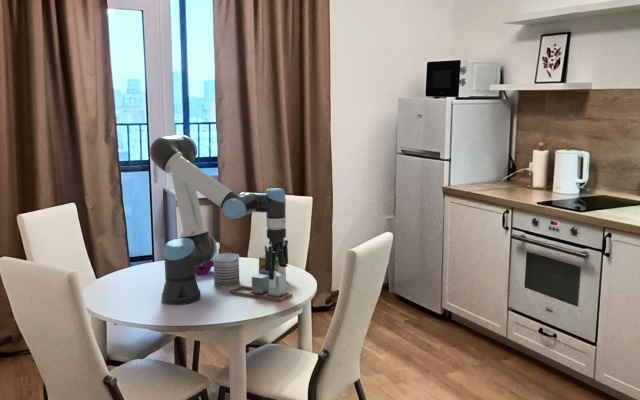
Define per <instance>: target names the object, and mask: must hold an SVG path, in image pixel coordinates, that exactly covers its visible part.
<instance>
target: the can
mask: <svg viewBox="0 0 640 400" xmlns="http://www.w3.org/2000/svg"><path fill="white" fill-rule="evenodd" d="M239 259H240V255H239V254H237V253H233V252H224V253H219V254H215V255H214V257H213V260H214V267H213V283H214V286H217V287H223V288H225V287H226V288H229V287H235V286H237V285H240V261H239Z"/></svg>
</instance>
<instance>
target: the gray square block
mask: <svg viewBox="0 0 640 400" xmlns="http://www.w3.org/2000/svg"><path fill="white" fill-rule="evenodd" d="M251 287H252V290H251V291H252V294H256V295H262V296H263V295H265V294H267V293H269V275H264V274H259V273H257V274H255V275H253V276H251Z"/></svg>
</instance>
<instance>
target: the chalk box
mask: <svg viewBox="0 0 640 400" xmlns="http://www.w3.org/2000/svg"><path fill="white" fill-rule="evenodd" d="M285 261H286V260H285ZM278 267H280V266H279V261H278V256H277V257H276V264H275V271H276V272H278ZM258 274H264V275H269V271H266V270H265V254H263V255H262V256H260V257H258Z"/></svg>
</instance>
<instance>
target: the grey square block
mask: <svg viewBox="0 0 640 400" xmlns="http://www.w3.org/2000/svg"><path fill="white" fill-rule="evenodd" d="M286 292H287V273H286V272H285V273H281V272H276V288H273V287H269V296H271V297H277V298H282V297H283V296H285V295H286Z"/></svg>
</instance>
